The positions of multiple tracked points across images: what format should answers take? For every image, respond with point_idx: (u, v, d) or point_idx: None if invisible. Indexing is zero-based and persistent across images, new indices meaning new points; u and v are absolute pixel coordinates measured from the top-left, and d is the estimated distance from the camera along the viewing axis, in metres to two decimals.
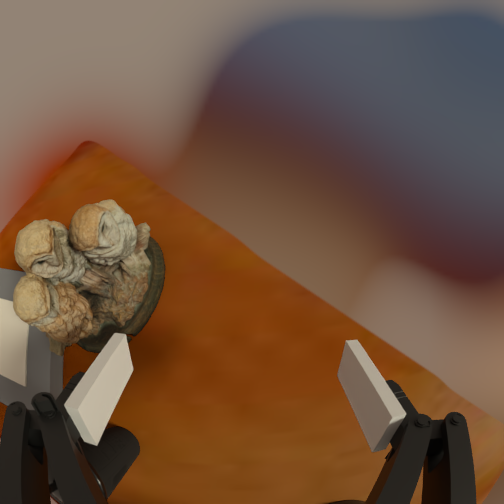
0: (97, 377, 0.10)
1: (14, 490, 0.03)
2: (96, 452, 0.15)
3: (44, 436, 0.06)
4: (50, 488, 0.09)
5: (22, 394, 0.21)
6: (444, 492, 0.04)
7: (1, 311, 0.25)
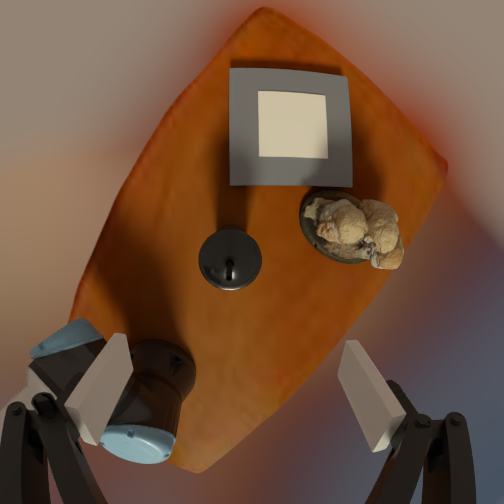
0: (97, 377, 0.10)
1: (14, 490, 0.03)
2: None
3: (44, 436, 0.06)
4: None
5: (249, 150, 0.40)
6: (444, 492, 0.04)
7: (315, 117, 0.39)
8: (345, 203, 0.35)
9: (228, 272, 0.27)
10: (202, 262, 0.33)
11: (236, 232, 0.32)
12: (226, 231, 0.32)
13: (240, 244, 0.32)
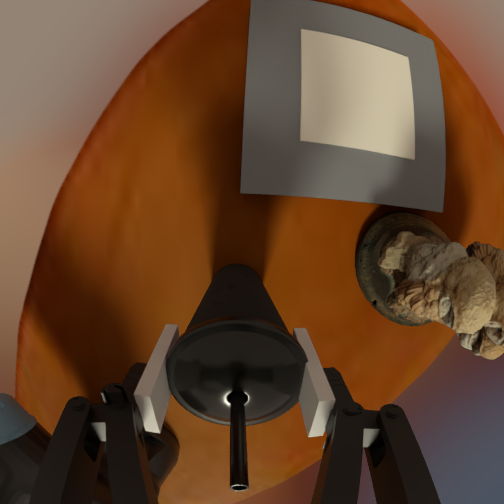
0: (161, 365, 0.12)
1: (56, 486, 0.04)
2: None
3: (108, 426, 0.08)
4: None
5: (282, 127, 0.20)
6: (397, 488, 0.05)
7: (396, 87, 0.19)
8: (460, 252, 0.15)
9: (237, 466, 0.08)
10: (173, 381, 0.13)
11: (257, 328, 0.12)
12: (231, 325, 0.12)
13: (265, 359, 0.12)
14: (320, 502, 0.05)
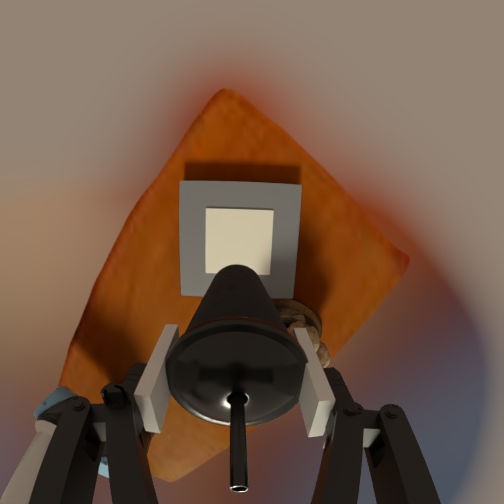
0: (161, 365, 0.12)
1: (56, 486, 0.04)
2: None
3: (108, 426, 0.08)
4: None
5: (197, 266, 0.46)
6: (397, 488, 0.05)
7: (260, 235, 0.45)
8: None
9: (237, 467, 0.07)
10: (173, 382, 0.13)
11: (257, 328, 0.12)
12: (231, 325, 0.12)
13: (265, 359, 0.12)
14: (320, 502, 0.05)
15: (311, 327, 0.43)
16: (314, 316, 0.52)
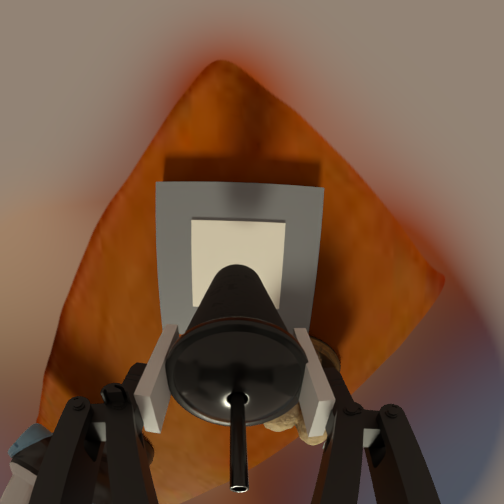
0: (161, 365, 0.12)
1: (56, 486, 0.04)
2: None
3: (107, 426, 0.08)
4: None
5: (182, 297, 0.34)
6: (397, 488, 0.05)
7: (267, 257, 0.33)
8: None
9: (237, 467, 0.07)
10: (173, 382, 0.13)
11: (257, 328, 0.12)
12: (231, 325, 0.12)
13: (265, 360, 0.12)
14: (320, 502, 0.05)
15: None
16: (332, 354, 0.39)
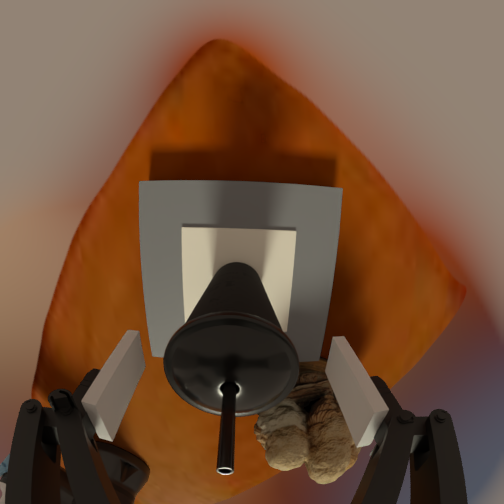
0: (113, 373, 0.11)
1: (24, 488, 0.03)
2: None
3: (59, 433, 0.06)
4: None
5: (172, 318, 0.28)
6: (433, 490, 0.05)
7: (274, 273, 0.27)
8: (289, 421, 0.23)
9: (224, 450, 0.09)
10: (171, 372, 0.14)
11: (249, 323, 0.13)
12: (225, 319, 0.13)
13: (256, 352, 0.13)
14: None
15: None
16: None
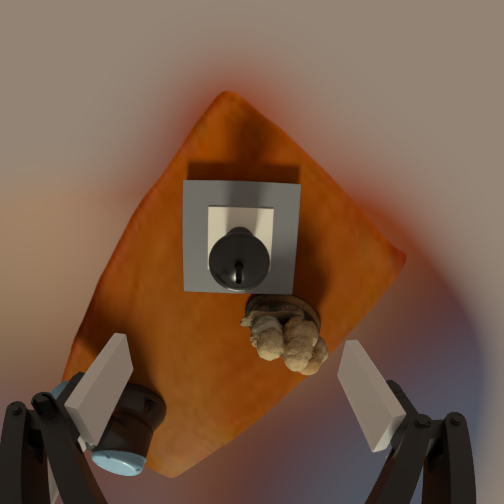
0: (97, 377, 0.10)
1: (14, 490, 0.03)
2: None
3: (44, 436, 0.06)
4: None
5: (200, 263, 0.48)
6: (444, 492, 0.04)
7: (261, 233, 0.47)
8: (271, 325, 0.43)
9: (238, 275, 0.28)
10: (212, 262, 0.34)
11: (247, 236, 0.33)
12: (237, 234, 0.33)
13: (250, 248, 0.33)
14: None
15: (310, 322, 0.45)
16: (313, 312, 0.53)
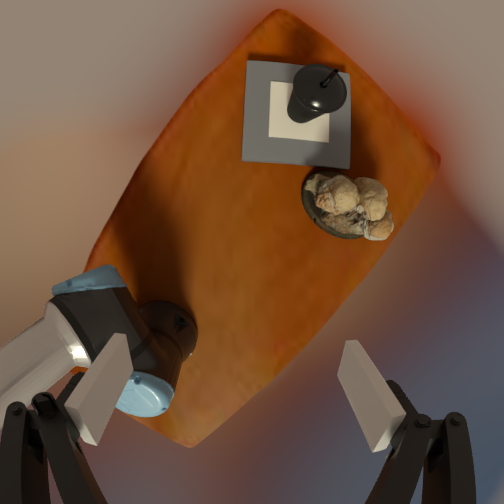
0: (97, 377, 0.10)
1: (14, 490, 0.03)
2: None
3: (44, 436, 0.06)
4: (328, 82, 0.28)
5: (260, 130, 0.45)
6: (444, 492, 0.04)
7: None
8: (341, 178, 0.40)
9: None
10: (297, 83, 0.30)
11: (326, 67, 0.30)
12: (318, 64, 0.30)
13: None
14: None
15: None
16: None
